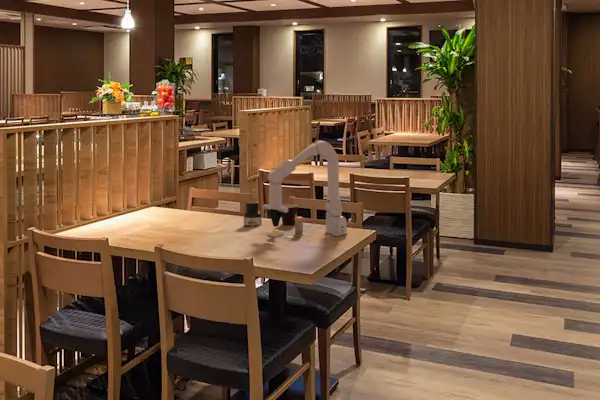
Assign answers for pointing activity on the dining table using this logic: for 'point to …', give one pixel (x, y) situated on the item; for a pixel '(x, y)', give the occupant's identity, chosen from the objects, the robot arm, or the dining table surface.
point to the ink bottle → (252, 214)
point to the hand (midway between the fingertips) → (275, 226)
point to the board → (286, 234)
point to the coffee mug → (289, 215)
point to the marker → (298, 225)
